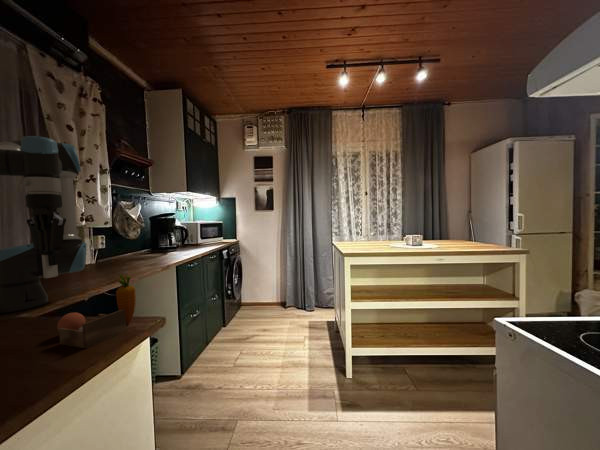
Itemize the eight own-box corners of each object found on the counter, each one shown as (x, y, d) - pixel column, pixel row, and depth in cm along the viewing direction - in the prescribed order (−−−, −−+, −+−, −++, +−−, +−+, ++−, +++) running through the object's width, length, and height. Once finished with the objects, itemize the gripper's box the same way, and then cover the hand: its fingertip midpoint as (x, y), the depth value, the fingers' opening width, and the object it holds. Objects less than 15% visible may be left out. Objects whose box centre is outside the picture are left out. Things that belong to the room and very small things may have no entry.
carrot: (140, 323, 82) (136, 273, 82) (120, 329, 79) (116, 277, 78) (135, 319, 86) (131, 271, 85) (116, 324, 82) (112, 274, 82)
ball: (84, 317, 75) (83, 337, 76) (87, 307, 80) (86, 326, 81) (55, 320, 72) (54, 341, 73) (60, 309, 77) (60, 329, 78)
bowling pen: (60, 344, 71) (58, 321, 71) (101, 327, 81) (99, 307, 81) (86, 348, 68) (84, 324, 67) (126, 330, 78) (124, 309, 78)
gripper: (12, 194, 76) (19, 279, 77) (43, 191, 72) (50, 281, 73) (44, 195, 83) (51, 273, 84) (74, 193, 79) (80, 274, 80)
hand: (51, 276), depth 79 cm, fingers closed
